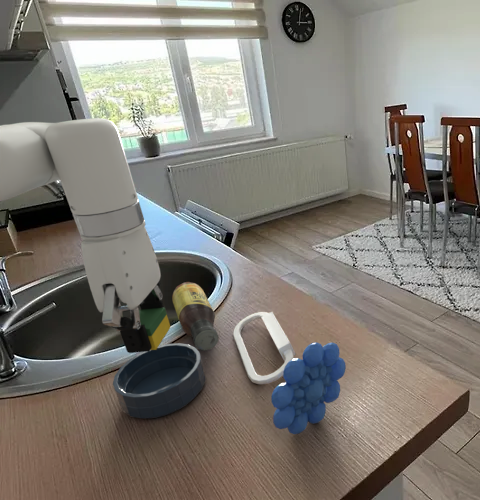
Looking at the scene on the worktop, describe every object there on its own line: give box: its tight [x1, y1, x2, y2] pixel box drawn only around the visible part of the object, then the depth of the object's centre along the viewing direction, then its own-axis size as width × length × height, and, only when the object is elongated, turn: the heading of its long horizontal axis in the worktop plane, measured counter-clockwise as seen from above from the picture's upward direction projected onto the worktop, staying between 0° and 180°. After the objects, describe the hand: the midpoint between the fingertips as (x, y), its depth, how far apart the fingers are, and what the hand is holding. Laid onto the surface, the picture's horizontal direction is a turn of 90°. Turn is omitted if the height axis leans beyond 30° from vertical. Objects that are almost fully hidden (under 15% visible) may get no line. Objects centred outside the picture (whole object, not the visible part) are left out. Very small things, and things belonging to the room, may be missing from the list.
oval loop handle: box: [232, 311, 297, 385], centre depth 71 cm, size 20×8×4 cm, turn 25°
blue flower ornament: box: [270, 342, 347, 435], centre depth 55 cm, size 12×7×12 cm, turn 130°
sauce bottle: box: [171, 281, 219, 352], centre depth 79 cm, size 6×6×20 cm
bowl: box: [112, 342, 207, 419], centre depth 63 cm, size 12×12×4 cm
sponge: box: [139, 307, 171, 350], centre depth 60 cm, size 4×6×4 cm
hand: (149, 336), depth 60 cm, fingers closed on sponge, 5 cm apart
